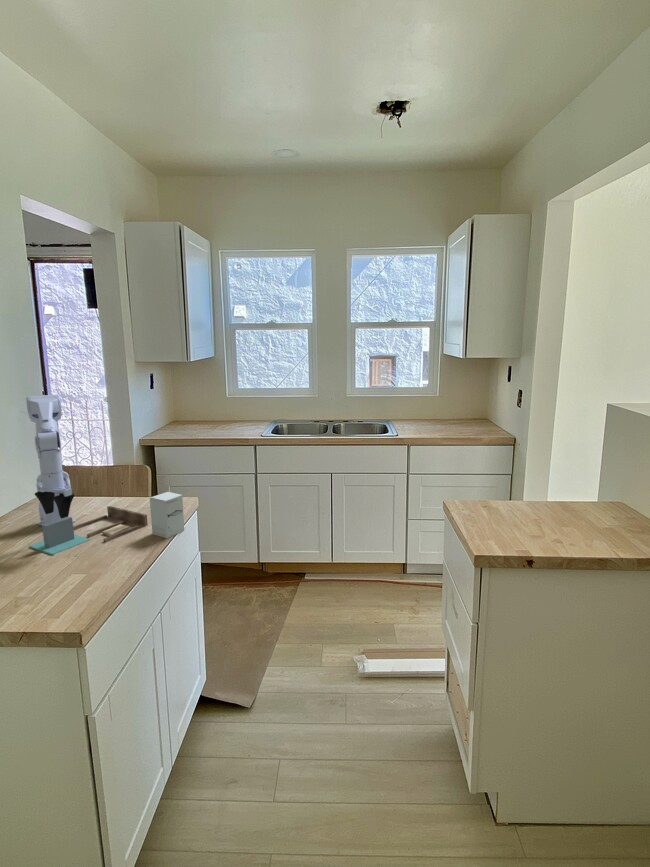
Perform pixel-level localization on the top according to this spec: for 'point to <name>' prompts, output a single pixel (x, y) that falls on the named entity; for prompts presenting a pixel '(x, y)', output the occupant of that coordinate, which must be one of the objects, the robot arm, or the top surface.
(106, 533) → the offcut top
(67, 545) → the mat
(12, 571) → the top surface
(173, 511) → the supplement box
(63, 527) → the block
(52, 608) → the top surface
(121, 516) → the rack
